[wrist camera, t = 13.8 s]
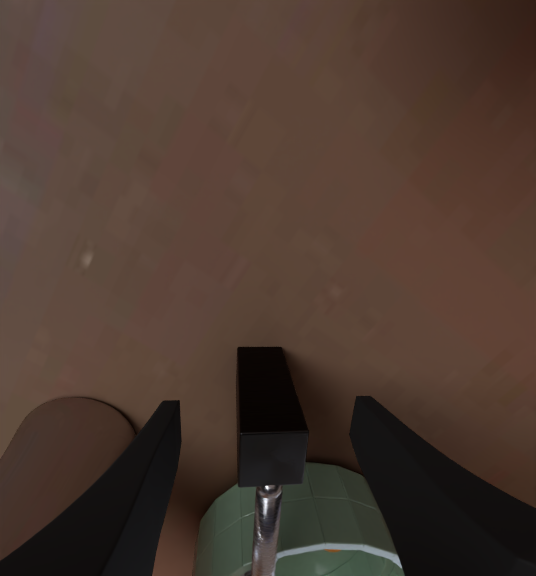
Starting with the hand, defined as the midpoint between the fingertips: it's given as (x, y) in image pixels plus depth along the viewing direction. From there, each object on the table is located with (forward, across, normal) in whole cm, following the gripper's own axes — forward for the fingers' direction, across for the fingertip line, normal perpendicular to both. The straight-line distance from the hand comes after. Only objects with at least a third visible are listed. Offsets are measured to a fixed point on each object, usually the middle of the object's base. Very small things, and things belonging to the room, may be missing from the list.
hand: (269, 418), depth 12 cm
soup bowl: (+4, -3, +14) cm, 14 cm away
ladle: (+4, 0, +7) cm, 8 cm away
